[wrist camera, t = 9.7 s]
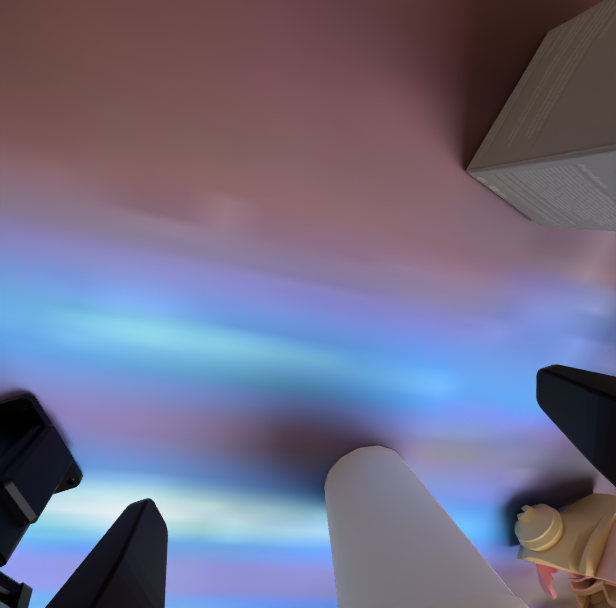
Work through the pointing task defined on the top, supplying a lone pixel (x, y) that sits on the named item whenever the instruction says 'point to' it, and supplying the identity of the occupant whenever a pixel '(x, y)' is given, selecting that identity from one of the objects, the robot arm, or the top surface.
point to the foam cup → (401, 541)
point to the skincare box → (560, 129)
